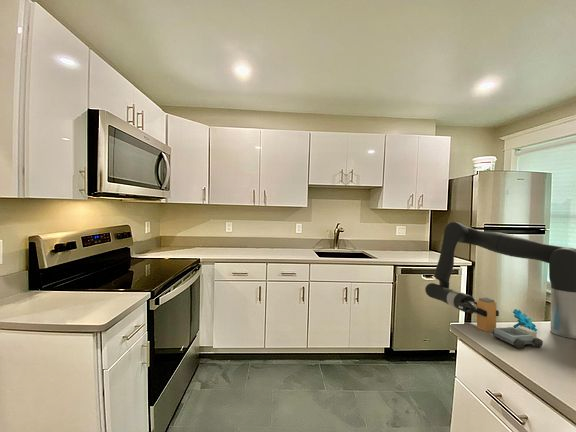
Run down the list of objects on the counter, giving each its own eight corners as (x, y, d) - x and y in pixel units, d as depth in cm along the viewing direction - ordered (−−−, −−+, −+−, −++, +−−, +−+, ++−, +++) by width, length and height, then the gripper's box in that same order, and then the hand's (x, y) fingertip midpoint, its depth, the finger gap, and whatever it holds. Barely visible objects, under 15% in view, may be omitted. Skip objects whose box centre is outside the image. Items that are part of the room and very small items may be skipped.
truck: (517, 335, 111) (517, 324, 111) (543, 347, 101) (543, 334, 101) (491, 337, 109) (491, 325, 109) (515, 349, 99) (515, 336, 99)
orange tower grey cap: (476, 327, 119) (477, 297, 119) (486, 326, 119) (487, 297, 119) (485, 331, 114) (486, 301, 114) (496, 331, 115) (496, 300, 115)
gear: (532, 332, 110) (511, 308, 116) (518, 339, 113) (498, 315, 120) (544, 331, 115) (524, 307, 122) (530, 337, 119) (511, 315, 125)
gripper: (446, 293, 130) (476, 304, 113) (474, 292, 132) (508, 303, 115) (445, 310, 130) (475, 324, 113) (474, 308, 132) (508, 322, 115)
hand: (492, 313), depth 114 cm, fingers closed on orange tower grey cap, 4 cm apart
